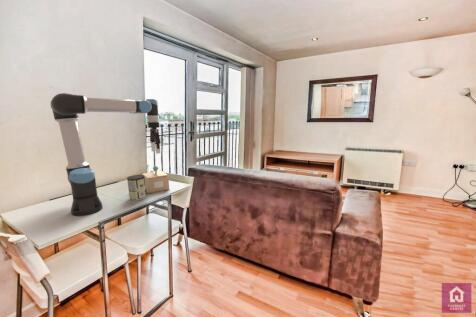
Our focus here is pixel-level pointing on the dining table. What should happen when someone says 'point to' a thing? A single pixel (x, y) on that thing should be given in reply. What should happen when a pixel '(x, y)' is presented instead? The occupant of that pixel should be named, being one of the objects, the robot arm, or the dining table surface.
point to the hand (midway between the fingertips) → (155, 152)
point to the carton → (155, 182)
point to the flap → (158, 172)
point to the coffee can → (136, 187)
